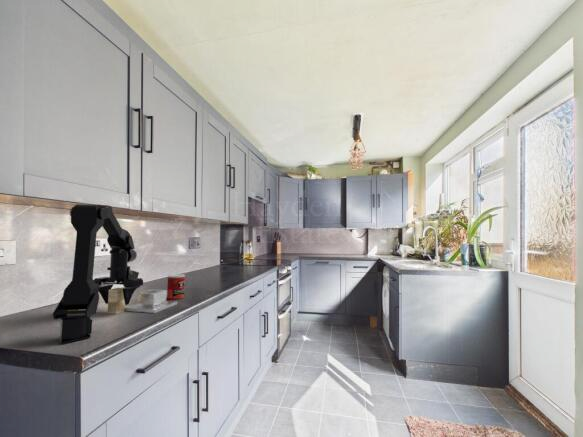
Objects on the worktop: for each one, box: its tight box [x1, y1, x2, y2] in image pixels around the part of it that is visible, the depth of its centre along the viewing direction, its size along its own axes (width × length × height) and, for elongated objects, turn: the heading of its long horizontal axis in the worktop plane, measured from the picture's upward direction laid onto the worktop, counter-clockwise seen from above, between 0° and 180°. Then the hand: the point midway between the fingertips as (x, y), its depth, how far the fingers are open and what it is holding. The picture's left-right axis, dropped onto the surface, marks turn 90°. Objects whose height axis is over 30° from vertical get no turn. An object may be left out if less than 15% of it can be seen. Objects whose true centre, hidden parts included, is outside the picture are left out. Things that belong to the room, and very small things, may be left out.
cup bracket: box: [124, 288, 178, 314], centre depth 109 cm, size 14×14×6 cm
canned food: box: [166, 273, 186, 301], centre depth 125 cm, size 8×8×11 cm
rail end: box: [107, 287, 126, 315], centre depth 102 cm, size 4×4×9 cm
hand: (117, 304), depth 102 cm, fingers open, 9 cm apart
